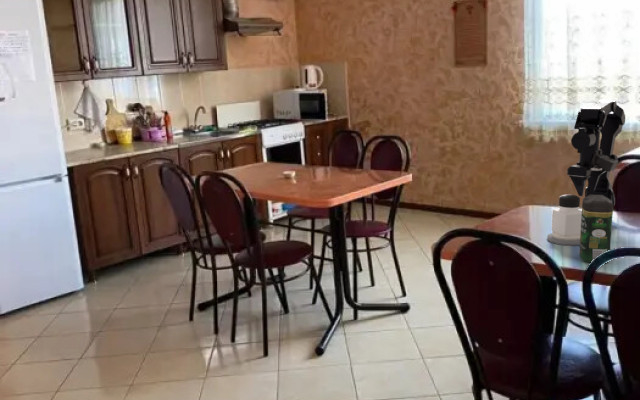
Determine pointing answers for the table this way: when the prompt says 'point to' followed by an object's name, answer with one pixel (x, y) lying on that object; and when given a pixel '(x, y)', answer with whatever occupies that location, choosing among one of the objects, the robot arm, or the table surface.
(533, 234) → the table surface
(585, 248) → the coffee jar
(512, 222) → the table surface
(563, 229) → the medicine bottle
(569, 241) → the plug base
